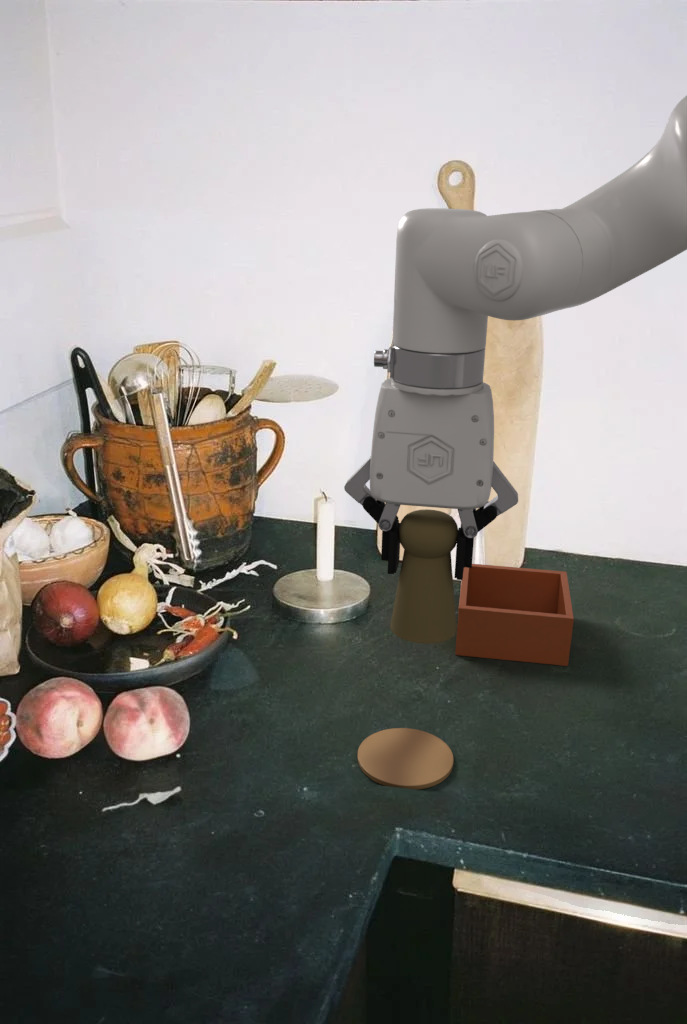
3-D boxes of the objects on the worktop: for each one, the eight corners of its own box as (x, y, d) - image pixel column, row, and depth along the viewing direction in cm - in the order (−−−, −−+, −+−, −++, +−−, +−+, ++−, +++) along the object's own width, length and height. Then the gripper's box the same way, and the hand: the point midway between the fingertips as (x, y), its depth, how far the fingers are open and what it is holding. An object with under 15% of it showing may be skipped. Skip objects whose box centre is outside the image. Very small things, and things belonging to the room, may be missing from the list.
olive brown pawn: (468, 624, 86) (476, 512, 82) (435, 650, 81) (443, 532, 77) (411, 606, 89) (416, 497, 85) (377, 630, 84) (381, 516, 80)
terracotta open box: (561, 615, 116) (566, 571, 114) (568, 666, 105) (574, 618, 103) (459, 606, 118) (463, 562, 116) (455, 655, 107) (458, 608, 104)
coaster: (455, 737, 92) (455, 733, 91) (450, 795, 83) (451, 791, 83) (364, 727, 93) (364, 723, 93) (350, 783, 84) (350, 779, 84)
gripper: (326, 372, 74) (323, 580, 81) (545, 384, 72) (524, 598, 78) (341, 353, 81) (338, 546, 88) (542, 364, 79) (523, 562, 85)
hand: (426, 568), depth 83 cm, fingers closed on olive brown pawn, 5 cm apart
